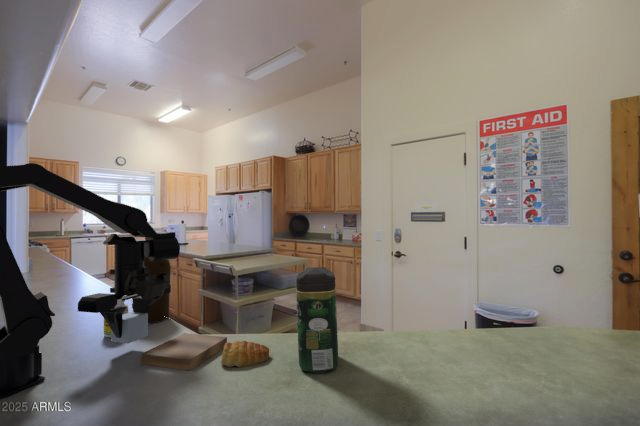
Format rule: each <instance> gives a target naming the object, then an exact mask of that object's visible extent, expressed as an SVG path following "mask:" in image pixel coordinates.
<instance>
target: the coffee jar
mask: <svg viewBox="0 0 640 426" xmlns="http://www.w3.org/2000/svg"><path fill="white" fill-rule="evenodd" d="M295 288H296V291H295V292H296V293H295V294H296V296H295V297H296V315H297V316H296V322H297V323H296V324H297V326H296V327H297V346H298V353H297V354H298V364H299V365H298V366H299V367H300V369H301V370H302V371H306V372H309V373H313V374H323V373H326V372H330V371H333V370H336V368H337V367H338V364H339V345H338V344H339V343H338V341H339V340H338V338H339V337H338V319H337V291H336V290H337V287H336V276H335V273H333V272H332V270H329V269H327V268H326V267H323V266H319V267H318V266H317V267H307V268H305V269H304V270H302V271H301V272H299V273H298V274H297V276H296V287H295Z"/></svg>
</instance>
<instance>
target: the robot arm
mask: <svg viewBox="0 0 640 426" xmlns="http://www.w3.org/2000/svg"><path fill="white" fill-rule="evenodd" d="M25 187H29V188H33V189H36V190H38V191H40V192H42V193H44V194H46V195H48V196H50V197H53V198H55V199H58V200H59V201H62V202H64V203H66V204H68V205H70V206H73V207H75V208H76V209H77V208H78V209H80V210H82V211H84V212H86V213H89V214H91V215H92V216H94V217H95V218H96V219H98V220H100V222H102V223H103V224H105V225H106V226H107V227H109V228H110V229H112V230H114V231H115V232H117V233H119V234H122V235H123V234H124V235H127V236H119V235H118V234H117V233H111V234H110V236H109V237H108V238H107V239H106V240H104V241H102V244H103V245H106V246H114V247H113V249H114V268H112V269H109V274H110V275H114V277H113V278H114V286H113V287H110V288H109V293H99V292H98V293H93V294H91V295H90V294H89V295H84V296H82V297H80V299H79V301H78V302H77V312H79V313H80V312H82V313H95V314H98V313H100V315H101V316H102V317H103V320H104V319H105V320H106V321H107V323H108V324H109V326H110V328H111V330H112V331H113V333H114V335H115V336H116V338H121V336H122V314H123V312H124V311H125V309H126V308H127V307H124V306H122V301H124V300H125V301H127V300H131V299H132V298H133V300H132V304H133V305H134V312H138V313H149V310H150V308H151V306H152V304H153V303H154V302H155V301H156V300H158V299H160V297H161V296H162V295H163V294H167V293H172V292H171V291H172V288H171V287H172V285H171V273H170V274H168V273H166V272H165V273H160V274H158V276H157V275H150V273H149V269H148V267H144V255H145V257H146V258H147V257H148V258H149V260H150V261H160V260H176V259H178V257H179V255H180V251H181V250H180V249H181V245H180V242H179V240H178V238H177V237H176V232H175V231H174V232H173V231H171V232H170V231H169V232H164V233H158V232H157V231H155V229H154V228H153V226H151V224H150V223H149V222H148V218H147V214H146V212H145V211H144V210H142V209H140V208H137V207H133V206H131V205H128V204H124V203H121V202H116V201H113V200H109V199H107V198H104V197H103V196H100V195H99V194H96V193H95V192H92V191H90V190H88V189H86V188H84V187H83V186H80V185H79V184H77V183H75V182H73V181H70V180H69V179H66V178H64V177H62V176H61V175H58V174H56V173H54V172H52V171H50V170H48V169H47V168H46V167H44V166H43V165H41V164H39V163H34V162H33V163H32V162H29V163H25V164H18V165H4V166H3V165H0V192H4V191H10V190H14V189H20V188H25ZM128 235H130V236H128ZM136 238H144V240H143V239H142V240H136ZM133 293H135V294H133ZM0 306H1V313H2V319H3V326H2V327H1V328H0V399H3V398H6V397H7V396H10V395H12V394H14V393H15V394H16V393H17V392H19V391H21V390H24V389H26V388H29V387H31V386H34V385H36V384H38V383H41V382H43V381H45V380H46V377H45V376H42V373H43V352H41V351H40V345H39V343H40V340H41V339H43V338H44V337H46V335H48V334H49V332H50V331H51V329H52V327H53V320H52V319H53V318H52V317H55V316H56V314H55V312H54V311H52V310H51V309H50V305H49V299H48V296H47V295H46V294H44V292H42V291H40V292H38V293H35V294H34V293H33V292H32V291H31V290H30V288H29V287H28V285H27V282H26V281H25V278H24V275H23V273H22V271H21V269H20V266H19V264H18V262H17V260H16V257H15V255H14V253H13V250H12V249H11V246H10V244H9V242H8V239H7V237H6V235H5V231H4V230H3V228H2V225H0Z"/></svg>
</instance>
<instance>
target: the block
mask: <svg viewBox="0 0 640 426" xmlns="http://www.w3.org/2000/svg"><path fill="white" fill-rule="evenodd" d="M147 336H149V324H148V313H138V312H133V311H130V312H128V313H127V314H123V315H122V336H121V338H116V336H115V335H114V333H113V331H112V330H111V337H110V342H114V343H121V344H130V343H133V342H135V341H138V340H140V339H143V338H145V337H147Z"/></svg>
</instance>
